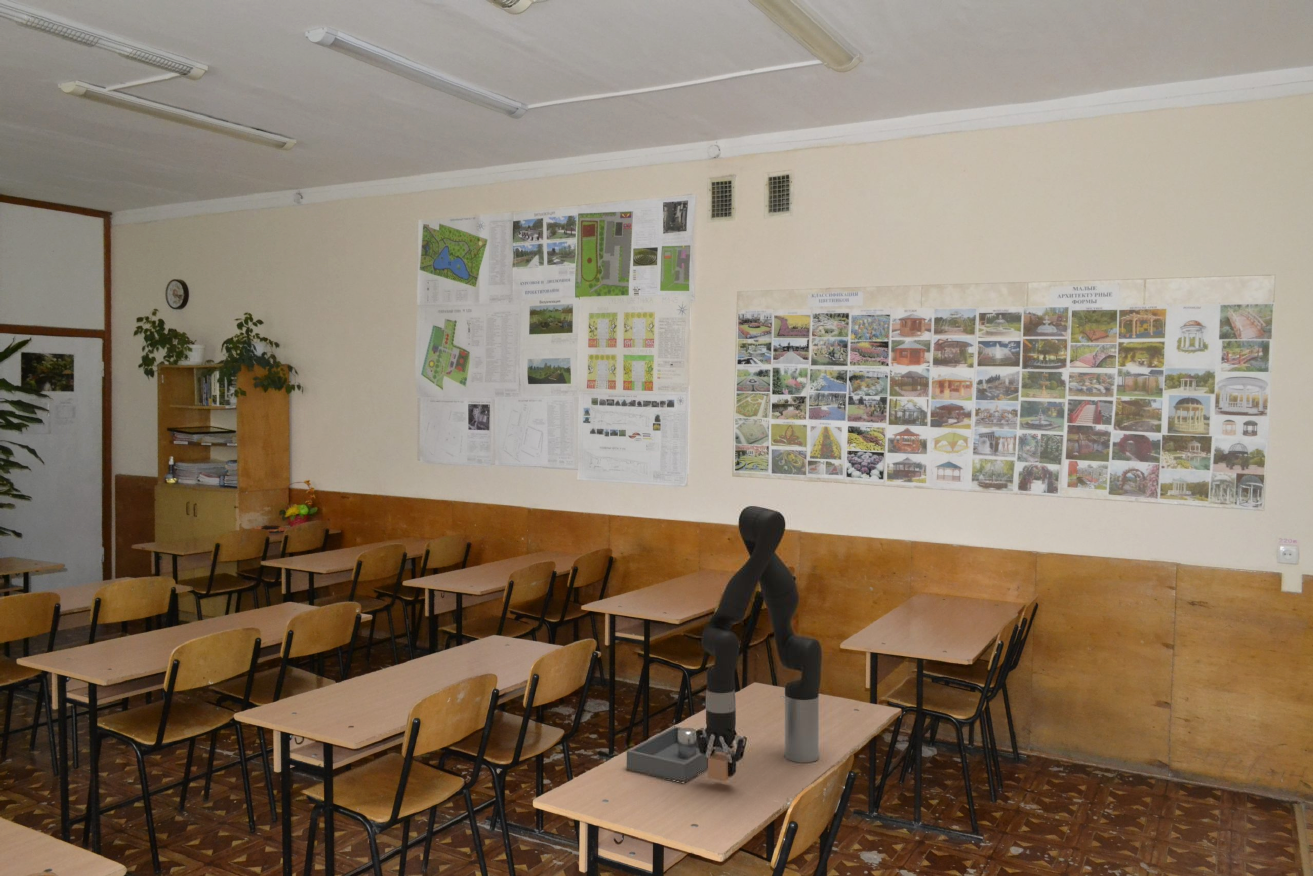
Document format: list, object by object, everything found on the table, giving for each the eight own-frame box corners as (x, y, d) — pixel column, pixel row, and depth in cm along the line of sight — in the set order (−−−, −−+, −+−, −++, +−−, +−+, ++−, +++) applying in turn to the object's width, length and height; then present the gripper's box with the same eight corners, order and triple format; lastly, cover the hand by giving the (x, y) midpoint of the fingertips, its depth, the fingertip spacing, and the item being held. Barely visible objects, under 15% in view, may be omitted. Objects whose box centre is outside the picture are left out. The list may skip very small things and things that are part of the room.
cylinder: (684, 751, 263) (684, 726, 263) (699, 755, 260) (699, 729, 260) (674, 757, 259) (674, 731, 258) (690, 760, 256) (690, 735, 256)
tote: (674, 743, 271) (674, 726, 271) (729, 755, 261) (729, 737, 261) (626, 769, 251) (626, 751, 251) (684, 784, 241) (684, 764, 241)
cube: (717, 770, 243) (717, 751, 243) (734, 774, 240) (734, 755, 240) (707, 777, 239) (707, 757, 238) (725, 781, 236) (725, 761, 236)
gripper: (752, 707, 238) (753, 774, 238) (703, 698, 246) (704, 763, 246) (738, 716, 231) (739, 784, 232) (688, 706, 239) (689, 772, 240)
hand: (721, 773), depth 239 cm, fingers closed on cube, 5 cm apart
